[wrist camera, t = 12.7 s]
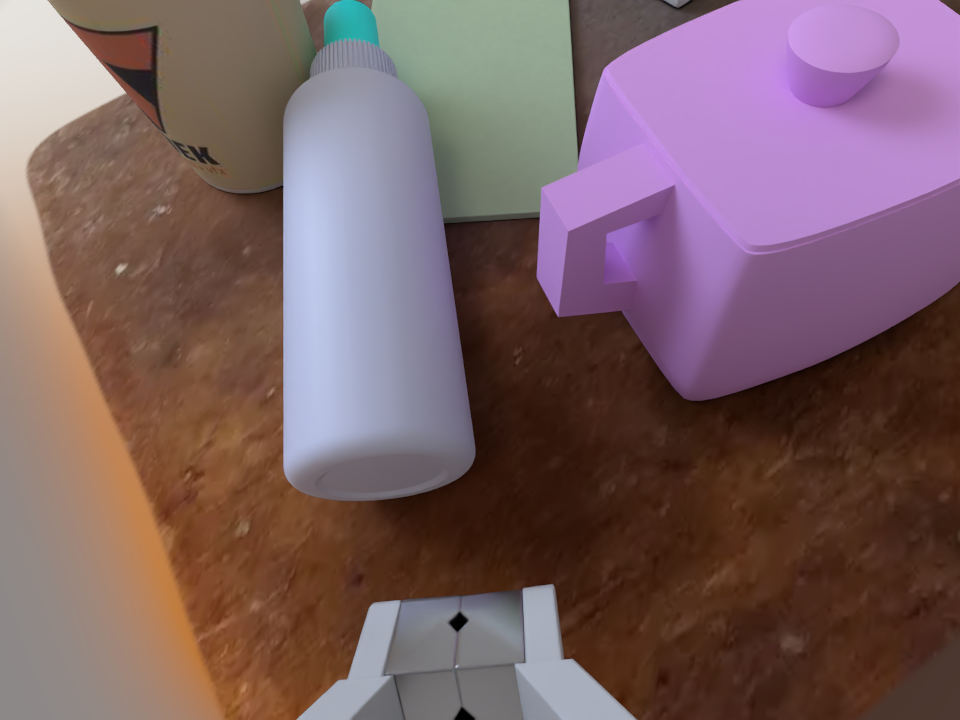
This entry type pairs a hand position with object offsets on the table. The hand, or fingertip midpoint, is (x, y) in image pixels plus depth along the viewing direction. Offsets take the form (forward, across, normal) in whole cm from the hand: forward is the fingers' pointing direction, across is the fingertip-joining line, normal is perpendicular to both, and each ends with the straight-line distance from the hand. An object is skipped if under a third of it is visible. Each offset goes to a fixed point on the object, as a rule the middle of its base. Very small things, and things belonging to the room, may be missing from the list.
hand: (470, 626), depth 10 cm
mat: (+26, 0, -11) cm, 29 cm away
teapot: (+17, -11, -2) cm, 20 cm away
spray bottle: (+9, +4, +2) cm, 10 cm away
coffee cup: (+25, +10, -10) cm, 29 cm away
